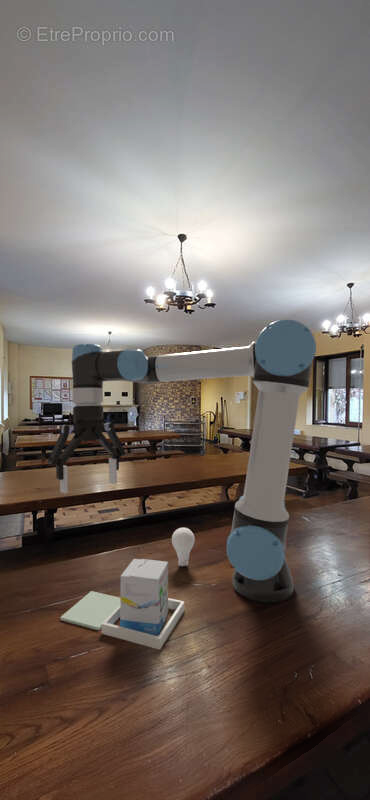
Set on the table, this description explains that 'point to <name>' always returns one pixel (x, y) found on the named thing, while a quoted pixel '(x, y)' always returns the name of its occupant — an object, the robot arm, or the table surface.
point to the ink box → (144, 596)
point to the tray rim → (140, 636)
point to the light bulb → (183, 544)
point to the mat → (92, 610)
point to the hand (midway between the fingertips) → (89, 487)
